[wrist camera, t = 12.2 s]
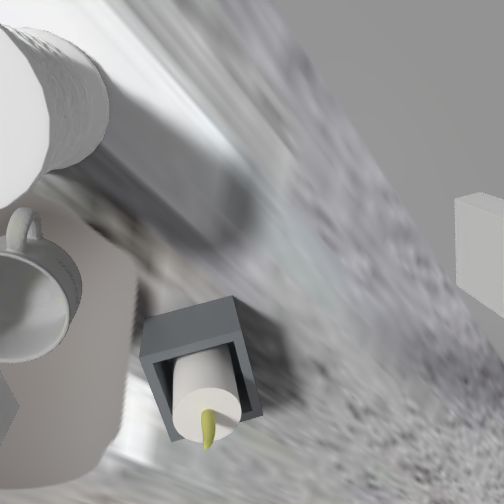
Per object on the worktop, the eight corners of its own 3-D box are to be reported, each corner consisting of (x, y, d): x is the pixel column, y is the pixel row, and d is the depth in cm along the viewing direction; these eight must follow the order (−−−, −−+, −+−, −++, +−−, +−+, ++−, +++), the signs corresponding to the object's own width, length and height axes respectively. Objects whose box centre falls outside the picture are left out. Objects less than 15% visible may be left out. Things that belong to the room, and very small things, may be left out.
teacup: (65, 333, 45) (44, 381, 38) (-42, 297, 42) (-89, 341, 35) (117, 223, 42) (104, 252, 35) (4, 174, 39) (-36, 193, 31)
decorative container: (4, 181, 39) (-124, 249, 22) (-58, 46, 34) (-276, 5, 18) (127, 151, 40) (91, 195, 23) (82, 15, 35) (-2, -51, 19)
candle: (194, 383, 49) (200, 496, 36) (162, 344, 47) (156, 451, 33) (239, 356, 49) (263, 460, 35) (210, 316, 47) (224, 411, 33)
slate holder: (144, 318, 46) (138, 357, 39) (232, 295, 47) (241, 329, 40) (172, 395, 50) (171, 442, 44) (252, 372, 51) (263, 415, 44)
